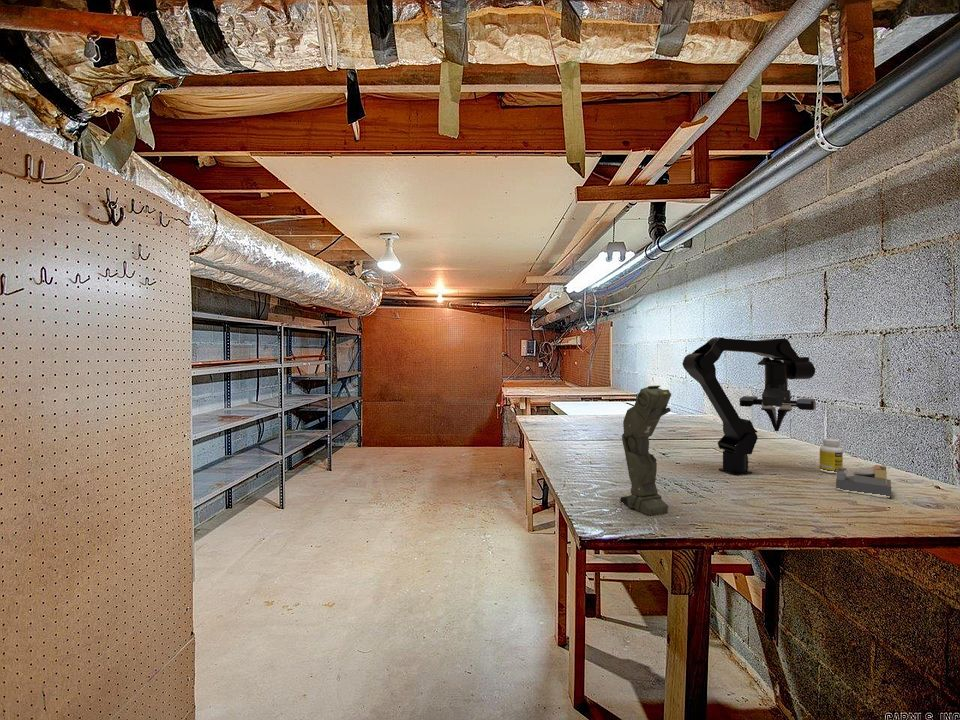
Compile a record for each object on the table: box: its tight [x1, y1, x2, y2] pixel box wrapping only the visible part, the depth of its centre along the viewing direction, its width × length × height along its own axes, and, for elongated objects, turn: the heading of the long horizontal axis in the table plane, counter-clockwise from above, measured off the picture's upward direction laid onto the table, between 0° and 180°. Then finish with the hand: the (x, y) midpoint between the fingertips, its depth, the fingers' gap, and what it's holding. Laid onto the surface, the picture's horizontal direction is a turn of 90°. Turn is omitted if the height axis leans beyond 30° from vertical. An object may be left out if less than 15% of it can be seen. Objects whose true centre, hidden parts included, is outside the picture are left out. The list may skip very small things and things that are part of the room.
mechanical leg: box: [619, 385, 672, 517], centre depth 103 cm, size 14×7×30 cm, turn 21°
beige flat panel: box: [839, 465, 881, 477], centre depth 114 cm, size 1×5×9 cm
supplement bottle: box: [819, 438, 844, 472], centre depth 132 cm, size 5×5×10 cm
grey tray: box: [835, 464, 892, 497], centre depth 114 cm, size 10×8×6 cm
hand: (776, 431), depth 134 cm, fingers closed
